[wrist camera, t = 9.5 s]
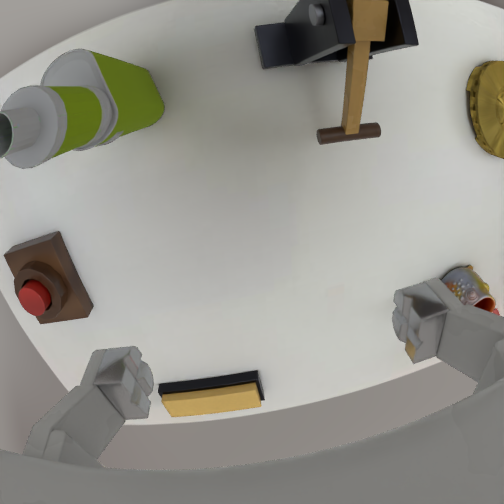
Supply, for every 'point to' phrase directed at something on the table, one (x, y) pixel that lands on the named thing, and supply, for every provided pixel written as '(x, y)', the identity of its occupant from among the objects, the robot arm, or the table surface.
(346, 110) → the switch lever
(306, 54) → the switch bracket
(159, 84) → the table surface
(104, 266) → the table surface
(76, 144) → the vape
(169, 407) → the whetstone on a base
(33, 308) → the button
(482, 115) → the gold round metal disc
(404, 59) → the table surface
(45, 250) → the button block
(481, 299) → the mug
